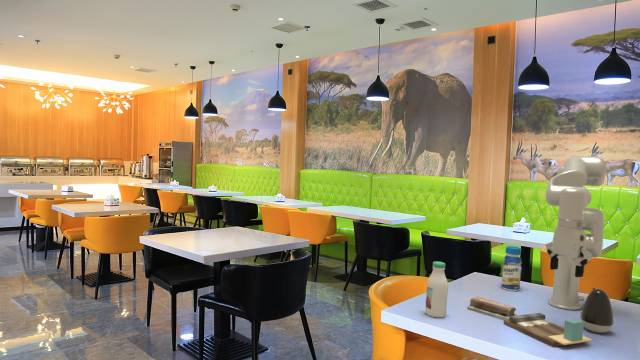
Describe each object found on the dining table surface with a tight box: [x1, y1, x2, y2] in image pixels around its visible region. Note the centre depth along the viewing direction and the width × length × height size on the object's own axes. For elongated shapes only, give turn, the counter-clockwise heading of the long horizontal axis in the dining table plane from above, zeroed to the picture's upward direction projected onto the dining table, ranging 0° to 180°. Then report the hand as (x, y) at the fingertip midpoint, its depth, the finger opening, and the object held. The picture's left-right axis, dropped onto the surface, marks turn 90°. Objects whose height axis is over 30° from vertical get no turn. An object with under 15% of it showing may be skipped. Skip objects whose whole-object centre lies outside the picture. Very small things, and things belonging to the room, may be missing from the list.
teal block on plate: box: [548, 318, 593, 346], centre depth 151 cm, size 13×6×6 cm, turn 113°
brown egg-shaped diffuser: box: [580, 287, 615, 334], centre depth 166 cm, size 10×10×15 cm
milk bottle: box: [424, 261, 449, 319], centre depth 173 cm, size 8×8×20 cm
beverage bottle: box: [500, 245, 523, 292], centre depth 217 cm, size 8×8×20 cm
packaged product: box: [466, 296, 519, 321], centre depth 180 cm, size 18×5×10 cm
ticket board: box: [503, 312, 584, 348], centre depth 161 cm, size 16×21×4 cm
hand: (566, 272), depth 159 cm, fingers open, 9 cm apart
